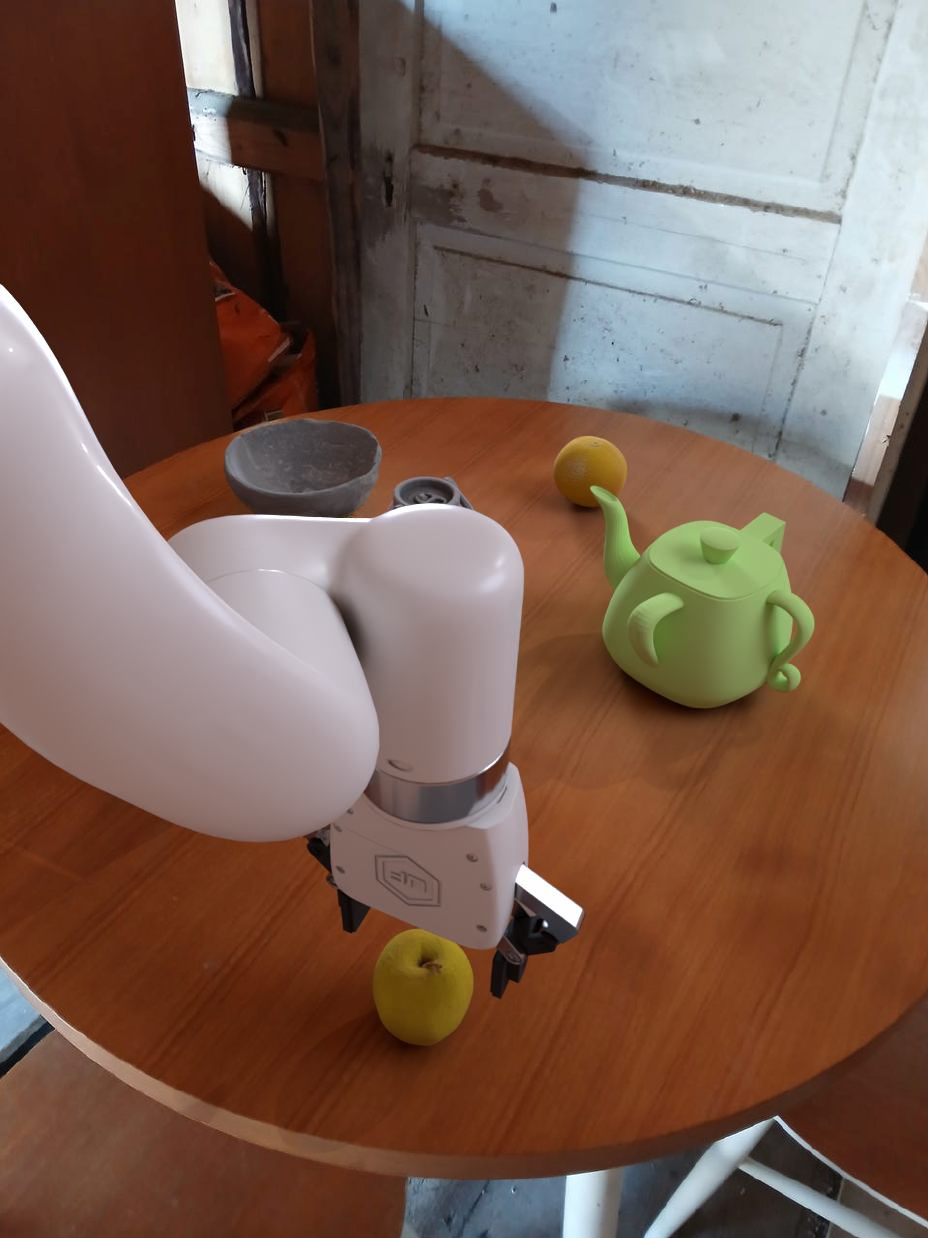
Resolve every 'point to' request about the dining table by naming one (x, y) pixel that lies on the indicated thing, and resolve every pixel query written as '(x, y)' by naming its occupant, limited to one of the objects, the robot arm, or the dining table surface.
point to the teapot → (702, 609)
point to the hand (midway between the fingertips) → (431, 944)
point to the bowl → (303, 468)
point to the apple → (422, 987)
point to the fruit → (589, 469)
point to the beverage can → (428, 493)
